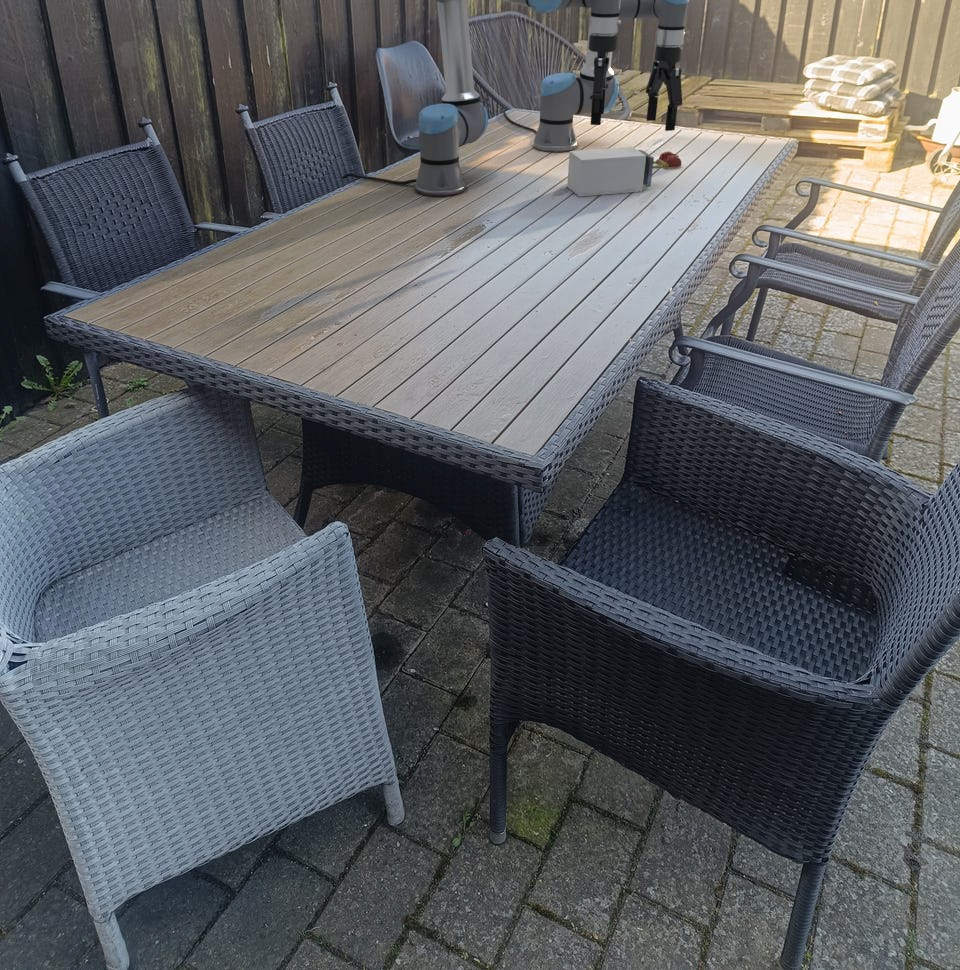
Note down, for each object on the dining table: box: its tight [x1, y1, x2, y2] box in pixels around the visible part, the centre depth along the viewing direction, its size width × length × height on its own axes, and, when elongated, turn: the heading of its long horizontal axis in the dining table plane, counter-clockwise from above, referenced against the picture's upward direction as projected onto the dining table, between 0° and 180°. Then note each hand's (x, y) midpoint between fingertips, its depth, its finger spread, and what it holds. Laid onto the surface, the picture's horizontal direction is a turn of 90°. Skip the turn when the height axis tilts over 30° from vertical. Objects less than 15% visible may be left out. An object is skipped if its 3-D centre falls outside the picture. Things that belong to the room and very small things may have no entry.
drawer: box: [637, 149, 670, 188], centre depth 257 cm, size 26×9×9 cm, turn 105°
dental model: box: [658, 151, 682, 168], centre depth 279 cm, size 6×4×8 cm
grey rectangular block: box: [567, 146, 646, 197], centre depth 256 cm, size 20×10×11 cm, turn 105°
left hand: (597, 119), depth 237 cm, fingers open, 13 cm apart
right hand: (660, 125), depth 252 cm, fingers open, 12 cm apart
